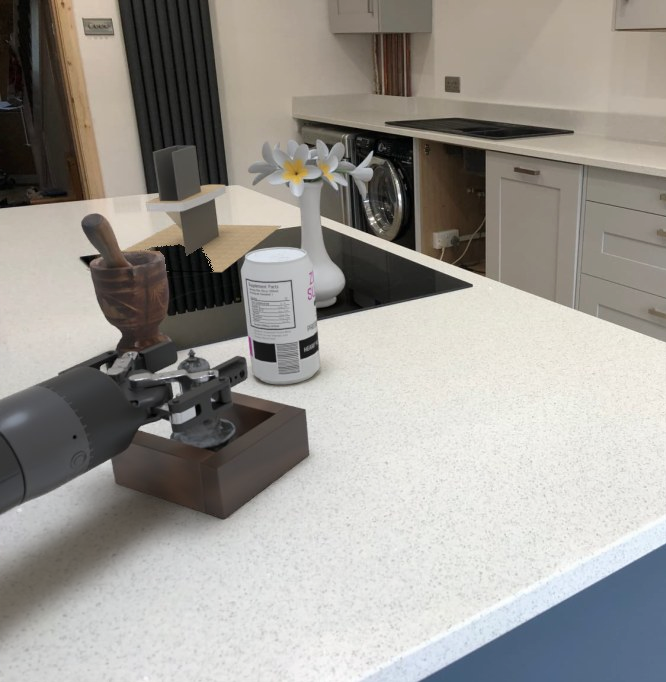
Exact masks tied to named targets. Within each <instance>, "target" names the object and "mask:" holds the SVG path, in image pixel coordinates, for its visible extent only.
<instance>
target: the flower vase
mask: <svg viewBox="0 0 666 682" xmlns="http://www.w3.org/2000/svg"><path fill="white" fill-rule="evenodd" d="M315 144H316V149H315V148H313V149H309V146H308V145H307V144H305V143H302V144H300V145H299V144H298V143H297V142H296V140H294V139H289V140H288V141H287V143H286V151H284V150H282V149H281V148H280V147H281V143H280V141H278V142H277V143H275V145H274V147H273V149H272V146H271V144H270V142H269V141H268V140H266V141H264V142H263V144H262V147H261V157H262V160H258V161H255V162H253V163H251V165H249V167H248V168H247V172H248V173H249V174H257V175H256V176H255V178H254V179H253V181H252V186H256V185H257V184H259V183H260V182H261V181H262V180H264V179H266V178H267V177H268V178H267V182H268V184H269V185H271V186H280V185H284V184H285V186H286V187H287V188H289V189H290V192H291V193H292V195H293V196H294V197H296V198H297V201H298V204H299V211H300V213H299V215H300V231H301V234H300V236H301V240H300V241H301V243H300V249H302V250H304V251H306V253H307V256H308V257H309V259H310V261H311V262H312V264H313V275H314V288H315V302H316V309H320V308H327V307H330V306H332V305H335V303H337V297H338V296H339V295H340V294H341V293H342V292H343V290H344V288H345V286H346V277H345V274H344V273H343V271H342V269H341V268H340V267H339V266H338V265H337V264H336V263H335V262H333V261H332V259H331V258H330V256H329V254H328V252H327V251H328V250H327V249H326V246H325V241H324V236H323V228H322V218H321V217H322V216H321V194H322V189H323V186H324V181H325V182H327V183H328V184H329V185H330V186H331V187H332V188H333V189H334V190H336V191H339V186H338V185H341V186H343V187H348V186H349V184H348V181H347V179H345V175H344V174H347V175H350V176H352V178H353V180H354V183H355V185H356V186H357V188H358V191H359V195H361V197H362V200H363V201H364V202H365V201H366V199H367V188H366V187H367V186H366V184H365V183H364V182H370V181H371V180H372V178H373V176H374V170H373V168H371V167H368V166H369V164H370V163H371V161H372V158H373V154H374V150H372V151H370V152H369V154H368V155H367V156H366V157H365V159H364V160H363V161H362V162H361V163H360V164H359V165H358V166H356V165H354V164H353V163H351V162H349V161H345V160H342V159H343V157H344V155H345V153H346V152H345V151H346V147H345V145H344V144H343V143H342V142H336V143H335V144H334V145H333V146H332V148H331V149H330V150H329V148H328V146H327V144H326V143H324V141H322V140H321V139H316V141H315ZM341 160H342V161H341ZM323 180H324V181H323Z"/></svg>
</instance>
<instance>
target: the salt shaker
mask: <svg viewBox="0 0 666 682" xmlns="http://www.w3.org/2000/svg"><path fill="white" fill-rule="evenodd" d="M187 355H188V357H187V358H185V359H184V360H182V361H181V362H179V364H178V365H177V369H176V370H181V369H184V370H186V371H187V372H188V373H196V372H202V371H208V370H210V369H211V364H210V362H209V361H208V360H207V359H205V358H202V357H199V356H195V355H196V352H195V351H194V350H193V349H189V351H188V352H187ZM203 384H205V382H200V383H195V384H192V386H191V390H192V389H194V388H197V387H199V386H201V385H203ZM178 385H179V392H180V393H181V387H180V383H178ZM214 402H215V401H214ZM211 403H213V402H211ZM235 431H236V430H235V426H234V425H233V423H231V422H229V421H228V420H224V419H220V418H219V416H218V414H217V415H215V416H213V417H211V418H209V419H207V420H205V421H203V422H202V423H200V424H198V425H196V426H194V427H192V428H190V429H188V430H186V431H184V432H181V433H174V432H172V431H171V434H170V436H169V439H171V440H175V441H178V442H182V443H185V444H189V445H192V446H196V447H199V448H203V449H206V450H209V451H213V452H215V453H216V452H217V451H219V450H220V449H222V448H224V447H225V446H227V445H228V444H230V443H231V442H232V441H233V435H234V434H235Z"/></svg>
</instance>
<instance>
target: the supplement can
mask: <svg viewBox="0 0 666 682" xmlns="http://www.w3.org/2000/svg"><path fill="white" fill-rule="evenodd" d="M240 275H241V286H242V294H243V303H244V313H245V321H246V329H247V338H248V347H249V355H250V357H249V358H250V365H251V373H252V374H253V375H254V376H255V377H256V378H258V379H259V380H260V381H262V382H264V383H266V384H271V385H292V384H297V383H301V382H304V381H307V380H308V379H310V378H312V377H313V376H314V375H315V374H316V372H318V370H319V369H320V368H321V357H320V344H319V329H318V318H317V317H318V315H317V308H316V302H315V288H314V275H313V264H312V262H311V261H310V259H309V257H308V256H307V253H306V251H304V250H302V249H301V248H299V247H289V246H274V247H265V248H260V249H255V250H252V251H248V252H247V253H246V254H245V255H244V262H243V263H242V266H241V269H240Z"/></svg>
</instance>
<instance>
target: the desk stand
mask: <svg viewBox="0 0 666 682" xmlns="http://www.w3.org/2000/svg"><path fill="white" fill-rule="evenodd" d="M231 394H232V402H233V406H232V407H230V408H228V409H226V410H224V411H222V412H220V413H219V414H218V416H219V418H220V419H224V420H228V421H229V422H231V423H233V425H234V426H235V430H236V431H235V434H234V435H233V441H232V442H231V443H230V444H228V445H227V446H225V447H224V448H222V449H220V450H219V451H217V452H216V453H215V452H213V451H209V450H206V449H203V448H199V447H196V446H192V445H189V444H185V443H182V442H178V441H175V440H171V439H170V438H168V437H164V436H161V435H157V434H153V433H150V432H146V431H143V430H141V429H140V430H139V429H138V431H137V432H136V434H135V436H134V438H133V440H132V442H131V444H130V446H129V447H128V448H127V449H126V450H125V451H124V452H122V453H120V454H118V455H117V456H115V457H113V458H111V459H110V462H111V467H112V472H113V477H114V482H115V483H116V484H118V485H121V486H124V487H127V488H130V489H132V490H136V491H139V492H141V493H145V494H147V495H151V496H154V497H157V498H160V499H163V500H166V501H169V502H172V503H173V504H174V503H175V504H177V505H181V506H184V507H186V508H190V509H192V510H195V511H199V512H202V513H205V514H206V515H207V514H208V515H211V516H214V517H217V518H219V519H222V520H225V519H226V518H228V517H229V516H230V515H232V514H233V513H235V511H237V510H238V509H240V508H241V507H242V506H243V505H245V504H246V503H248V502H249V501H250V500H251V499H253V498H254V497H255V496H257V495H258V494H259V493H261V492H263V491H264V490H265V489H266V488H268V487H269V486H270V485H271V484H273V483H274V482H276V481H277V480H278V479H279V478H281V477H282V476H283V475H285V474H286V473H287V472H289V471H290V470H291V469H292V468H294V467H295V466H296V465H298V464H299V463H300V462H302V461H303V460H304V459H306V458H307V457H308V456H309V455H310V446H309V445H310V444H309V432H308V431H309V430H308V420H307V410H306V408H303V407H298V406H294V405H289V404H286V403H282V402H277V401H275V400H270V399H265V398H260V397H257V396H252V395H250V394H249V395H248V394H244V393H240V392H236V391H232V390H231Z"/></svg>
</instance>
